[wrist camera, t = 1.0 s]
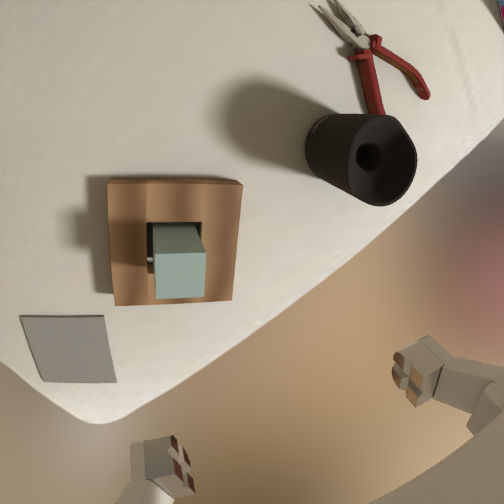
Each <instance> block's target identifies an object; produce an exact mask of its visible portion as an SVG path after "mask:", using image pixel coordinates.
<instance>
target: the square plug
mask: <svg viewBox="0 0 504 504" xmlns="http://www.w3.org/2000/svg"><path fill="white" fill-rule="evenodd" d="M153 267H154V279H155V290H156V299H172V298H192V297H204V290H205V269H206V251H205V248H204V246H203V244H202V242H201V239H200V237H199V235H198V233H197V230H196V228H195V226H194V223H193V222H153Z"/></svg>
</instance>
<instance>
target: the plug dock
mask: <svg viewBox="0 0 504 504" xmlns="http://www.w3.org/2000/svg"><path fill="white" fill-rule="evenodd" d="M242 191H243V185H242V184H241V183H239V182H238V181H236V180H206V179H112V180H110V181H109V182H108V184H107V192H108V227H109V245H110V259H111V271H112V282H113V291H114V300H115V306H131V305H158V304H179V303H198V302H215V301H230V300H232V293H233V282H234V271H235V261H236V250H237V240H238V230H239V220H240V210H241V200H242ZM146 222H198V235H199V237H200V239H201V242H202V244H203V246H204V248H205V251H206V269H205V290H204V297H192V298H172V299H156V290H155V279H154V267H153V264H147V225H146Z"/></svg>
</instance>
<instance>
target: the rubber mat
mask: <svg viewBox="0 0 504 504" xmlns="http://www.w3.org/2000/svg"><path fill="white" fill-rule="evenodd" d="M21 319H22V323H23V326H24V329H25V332H26V335H27V338H28V341H29V344H30V347H31V350H32V353H33V356H34V358H35V361H36V364H37V366H38V369H39V371H40V374H41V376H42V379H43V381H44V382H58V383H117V380H116V376H115V372H114V367H113V362H112V358H111V353H110V348H109V343H108V337H107V332H106V326H105V320H104V315H103V316H21Z"/></svg>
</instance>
